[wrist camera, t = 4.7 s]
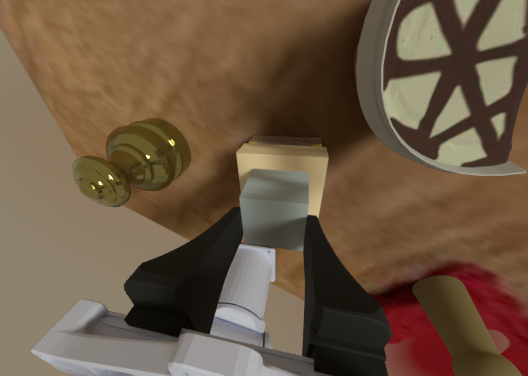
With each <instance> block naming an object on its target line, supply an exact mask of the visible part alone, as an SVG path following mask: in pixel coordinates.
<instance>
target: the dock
mask: <svg viewBox="0 0 528 376" xmlns="http://www.w3.org/2000/svg"><path fill="white" fill-rule="evenodd" d="M249 144H272V145H295V146H317V147H322V141H321V138H320V137H291V136H262V135H253V137H252V138H251V139H250V140H249Z"/></svg>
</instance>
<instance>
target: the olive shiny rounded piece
mask: <svg viewBox="0 0 528 376" xmlns="http://www.w3.org/2000/svg"><path fill="white" fill-rule="evenodd" d="M106 153H107V157H108V161H106V160H104V159H102V158H99V157H95V156H83V157H80V158H78V159H77V160H75V161H74V163H73V165H72V174H73V177H74V180H75V182H76V184H77V185H78V187H79V189H80V191H81V192H82V193H83V194H84V195H85V196H87V197H89V198H90V199H92V200H93V201H95V202H98V203H100V204H102V205H105V206H109V207H120V206H122V205H124V204H125V203H127V202H128V200H129V199H130V195H131V190H130V186H129V185H131V186H134V187H136V188H139V189H142V190H146V191H159V190H162V189H164V188H166V187H167V186H168V185H170V183H171V182H172V181H173V180H175V179H177V178H178V177H179V176H180V174H182V173H183V172H184V171H185V170H186V169H187V168H188V166H189V164H190V159H191V154H190V149H189V146H188V143H187V141H186V139H185V138H184V136H183V135H182V134H181V132H180V131H179V130H178V129H177V128H175V127H174V126H173V125H172V124H170V123H168V122H166V121H164V120H161V119H157V118H148V119H145V120H142V121H137V122H133V123H131V124H130V125H126V126H121V127H118V128H116V129H114V130H113V131H112V132H111V133H110V134H109V136H108V138H107V141H106Z"/></svg>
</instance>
